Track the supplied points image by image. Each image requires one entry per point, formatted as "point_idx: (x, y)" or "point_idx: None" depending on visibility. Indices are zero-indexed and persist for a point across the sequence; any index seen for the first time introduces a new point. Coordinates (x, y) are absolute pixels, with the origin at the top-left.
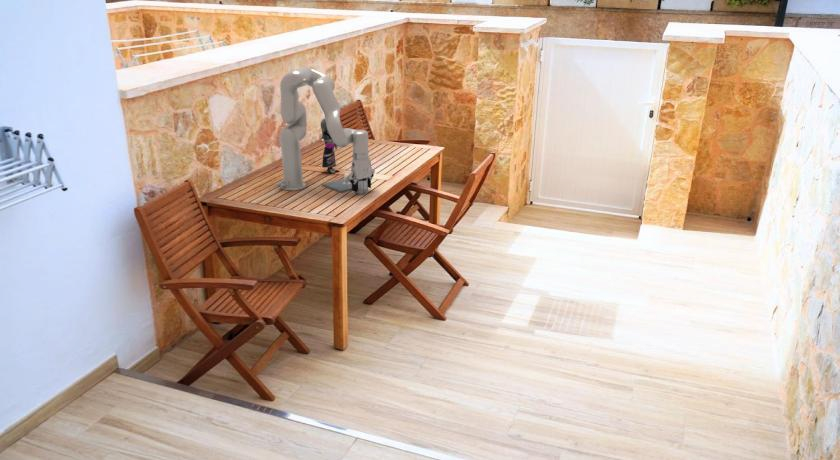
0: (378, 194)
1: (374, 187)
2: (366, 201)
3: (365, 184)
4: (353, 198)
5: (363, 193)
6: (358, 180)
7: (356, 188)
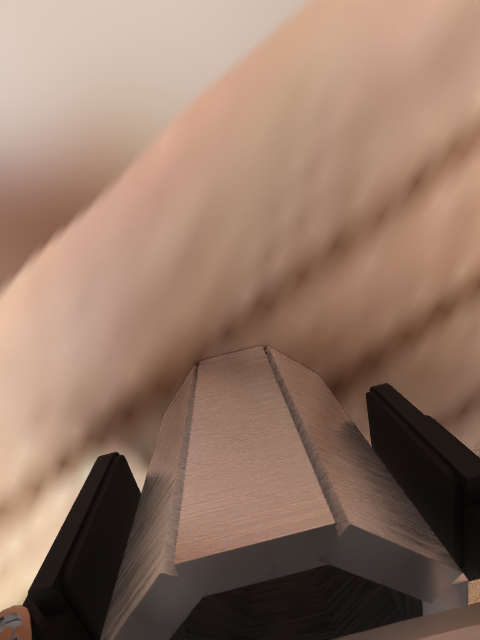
0: (66, 257)
1: (25, 520)
2: (387, 23)
3: (242, 445)
4: (452, 267)
5: (265, 355)
6: (422, 606)
7: (409, 412)
